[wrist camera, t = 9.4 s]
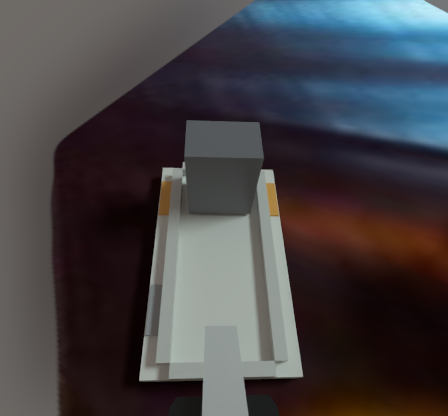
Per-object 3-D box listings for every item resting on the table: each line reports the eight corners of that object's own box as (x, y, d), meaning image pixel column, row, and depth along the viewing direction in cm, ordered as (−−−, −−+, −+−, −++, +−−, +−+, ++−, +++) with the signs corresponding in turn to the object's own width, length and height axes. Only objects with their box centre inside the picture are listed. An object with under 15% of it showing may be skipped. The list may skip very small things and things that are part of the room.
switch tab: (250, 214, 30) (263, 158, 23) (188, 213, 29) (184, 156, 23) (247, 181, 32) (259, 122, 25) (190, 180, 31) (186, 120, 25)
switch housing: (297, 378, 24) (306, 375, 22) (142, 381, 23) (136, 379, 21) (270, 178, 35) (274, 163, 32) (164, 176, 34) (162, 161, 32)
